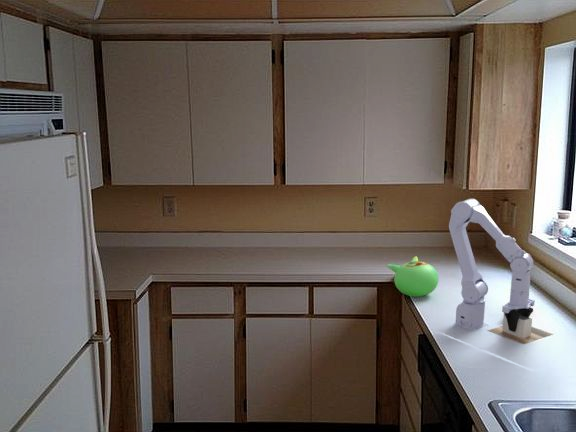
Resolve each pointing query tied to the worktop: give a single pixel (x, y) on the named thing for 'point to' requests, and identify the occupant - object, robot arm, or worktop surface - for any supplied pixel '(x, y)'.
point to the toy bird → (415, 278)
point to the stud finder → (519, 327)
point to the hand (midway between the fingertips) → (516, 329)
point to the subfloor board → (534, 336)
